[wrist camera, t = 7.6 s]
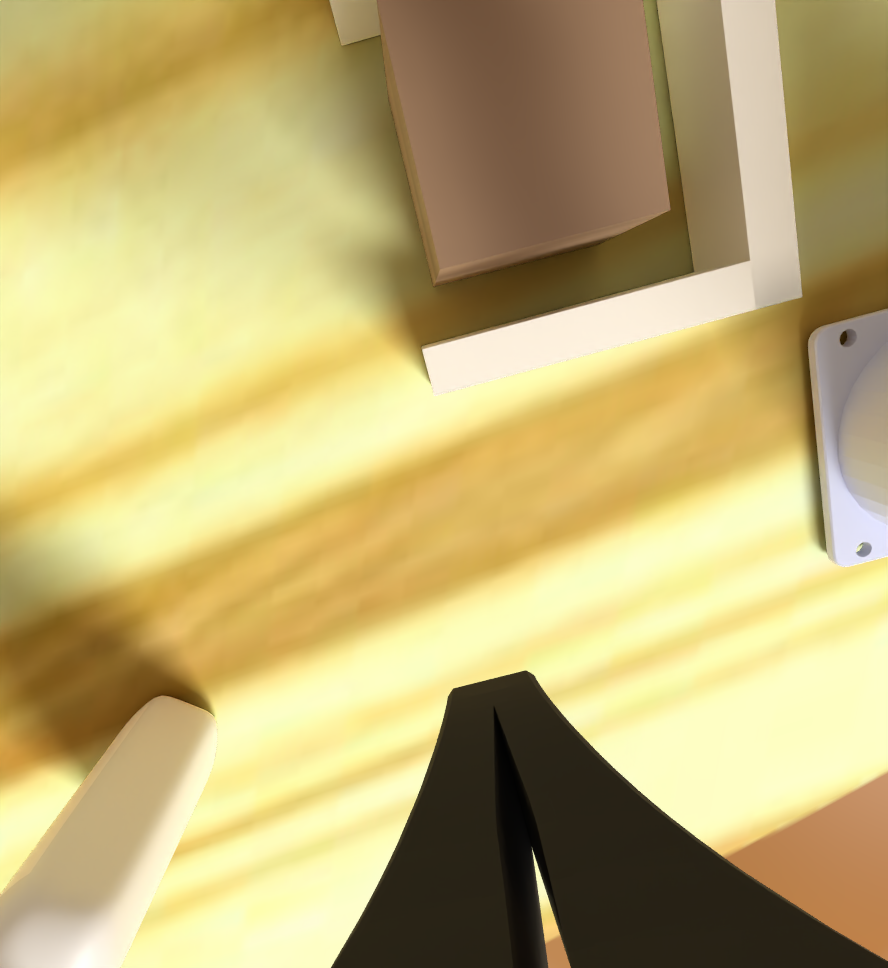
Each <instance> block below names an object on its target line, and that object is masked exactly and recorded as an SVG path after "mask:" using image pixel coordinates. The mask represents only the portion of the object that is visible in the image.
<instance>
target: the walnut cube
mask: <svg viewBox="0 0 888 968" xmlns="http://www.w3.org/2000/svg"><path fill="white" fill-rule="evenodd" d="M377 8H378V16H379V25H380V33H381V41H382V50H383V58H384V67H385V75H386V83H387V92H388V99H389V103H390V108H391V112H392V116H393V120H394V124H395V128H396V133H397V137H398V141H399V145H400V149H401V154H402V158H403V162H404V166H405V170H406V174H407V179H408V183H409V187H410V191H411V195H412V199H413V204H414V208H415V212H416V216H417V220H418V225H419V229H420V233H421V237H422V241H423V245H424V250H425V254H426V258H427V262H428V266H429V270H430V275H431V279H432V283H433V287H435V286H439V285H443V284H447V283H451V282H454V281H458V280H462V279H466V278H470V277H474V276H478V275H482V274H485V273H489V272H493V271H497V270H501V269H505V268H509V267H513V266H516V265H520V264H524V263H528V262H532V261H536V260H540V259H544V258H547V257H551V256H555V255H559V254H563V253H567V252H571V251H575V250H578V249H582V248H586V247H590V246H594V245H598V244H601V243H603V242H605V241H607V240H609V239H611V238H613V237H615V236H617V235H619V234H621V233H624V232H626V231H628V230H630V229H632V228H634V227H636V226H638V225H640V224H642V223H644V222H646V221H649V220H651V219H653V218H655V217H657V216H659V215H661V214H663V213H665V212H667V211H669V210H671V209H670V202H669V194H668V187H667V179H666V172H665V164H664V157H663V149H662V141H661V134H660V126H659V119H658V111H657V104H656V96H655V89H654V81H653V74H652V66H651V59H650V51H649V43H648V36H647V28H646V21H645V13H644V6H643V0H377Z"/></svg>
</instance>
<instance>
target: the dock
mask: <svg viewBox="0 0 888 968" xmlns="http://www.w3.org/2000/svg"><path fill="white" fill-rule="evenodd" d="M329 1H330V4H331V8H332V12H333V16H334V20H335V23H336V27H337V31H338V35H339V38H340V42H341V46H343V45H346V44H350V43H353V42H357V41H361V40H364V39H368V38H371V37H375V36H378V35H381V33H380V25H379V16H378V8H377V0H329ZM657 8H658V15H659V22H660V29H661V37H662V44H663V51H664V58H665V65H666V73H667V80H668V87H669V94H670V102H671V109H672V116H673V123H674V130H675V138H676V145H677V152H678V159H679V166H680V174H681V181H682V188H683V195H684V203H685V210H686V217H687V224H688V231H689V239H690V246H691V253H692V260H693V267H694V273H690V274H686V275H683V276H679V277H675V278H672V279H668V280H664V281H661V282H657V283H653V284H650V285H646V286H642V287H638V288H635V289H631V290H627V291H624V292H620V293H616V294H613V295H609V296H605V297H602V298H598V299H594V300H590V301H587V302H583V303H579V304H576V305H572V306H568V307H565V308H561V309H557V310H554V311H550V312H546V313H542V314H539V315H535V316H531V317H528V318H524V319H520V320H517V321H513V322H509V323H506V324H502V325H498V326H494V327H491V328H487V329H483V330H480V331H476V332H472V333H469V334H465V335H461V336H458V337H454V338H450V339H446V340H443V341H439V342H435V343H432V344H428V345H424V346H421V348H422V352H423V355H424V359H425V363H426V367H427V370H428V374H429V378H430V382H431V386H432V389H433V392H434V396H436V395H440V394H444V393H448V392H451V391H455V390H459V389H462V388H466V387H470V386H474V385H477V384H481V383H485V382H488V381H492V380H496V379H500V378H503V377H507V376H511V375H514V374H518V373H522V372H526V371H529V370H533V369H537V368H541V367H544V366H548V365H552V364H555V363H559V362H563V361H567V360H570V359H574V358H578V357H581V356H585V355H589V354H593V353H596V352H600V351H604V350H607V349H611V348H615V347H619V346H622V345H626V344H630V343H633V342H637V341H641V340H645V339H648V338H652V337H656V336H660V335H663V334H667V333H671V332H674V331H678V330H682V329H686V328H689V327H693V326H697V325H700V324H704V323H708V322H712V321H715V320H719V319H723V318H726V317H730V316H734V315H738V314H741V313H745V312H749V311H752V310H756V309H760V308H764V307H767V306H771V305H775V304H779V303H782V302H786V301H790V300H793V299H797V298H801V297H802V286H801V276H800V265H799V254H798V243H797V232H796V222H795V211H794V200H793V189H792V178H791V168H790V157H789V146H788V135H787V125H786V114H785V103H784V92H783V81H782V71H781V60H780V49H779V38H778V28H777V17H776V6H775V0H657Z"/></svg>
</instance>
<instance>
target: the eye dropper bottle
mask: <svg viewBox="0 0 888 968" xmlns="http://www.w3.org/2000/svg"><path fill="white" fill-rule="evenodd" d="M216 748H217V722H216V720H215V718H214V716H213V715H212V714H211V713H209V712H208V711H206V710H204V709H202V708H199V707H197V706H194V705H192V704H189V703H186V702H184V701H181V700H179V699H176V698H173V697H170V696H159V697H156V698H153V699H152V700H151V701H149V702H148V703H146V704H145V705H144V706H143V707H142V708H141V709H140V710H139V711H138V712H137V713H136V714H135V715H134V716H133V717H132V718H131V719H130V720H129V721H128V722H127V723H126V725H125V726H124V727H123V729H122V730H121V731H120V733H119V734H118V735H117V737H116V738H115V739H114V741H113V742H112V743H111V745H110V746H109V747H108V749H107V750H106V751H105V753H104V754H103V755H102V757H101V758H100V760H99V761H98V762H97V764H96V765H95V766H94V768H93V769H92V770H91V772H90V773H89V774H88V776H87V777H86V778H85V780H84V781H83V783H82V784H81V785H80V787H79V788H78V789H77V791H76V792H75V793H74V795H73V796H72V797H71V799H70V800H69V801H68V803H67V804H66V806H65V807H64V808H63V810H62V811H61V812H60V814H59V815H58V816H57V818H56V819H55V820H54V822H53V823H52V825H51V826H50V827H49V829H48V830H47V831H46V833H45V834H44V835H43V837H42V838H41V839H40V841H39V842H38V843H37V845H36V846H35V848H34V849H33V850H32V852H31V853H30V854H29V856H28V857H27V858H26V860H25V861H24V862H23V864H22V865H21V867H20V868H19V869H18V871H17V872H16V873H15V875H14V876H13V877H12V879H11V880H10V882H9V883H8V884H7V886H6V887H5V888H4V890H3V891H2V892H1V894H0V968H121V965H122V963H123V961H124V959H125V957H126V955H127V953H128V950H129V948H130V946H131V944H132V942H133V940H134V938H135V935H136V933H137V931H138V929H139V927H140V925H141V923H142V920H143V918H144V916H145V914H146V912H147V910H148V908H149V905H150V903H151V901H152V899H153V897H154V895H155V892H156V890H157V888H158V886H159V884H160V882H161V880H162V877H163V875H164V873H165V871H166V869H167V867H168V865H169V862H170V860H171V858H172V856H173V854H174V852H175V849H176V847H177V845H178V843H179V841H180V839H181V837H182V834H183V832H184V830H185V828H186V826H187V824H188V821H189V819H190V817H191V815H192V813H193V811H194V809H195V806H196V804H197V802H198V800H199V798H200V796H201V793H202V791H203V789H204V787H205V785H206V782H207V780H208V778H209V775H210V773H211V770H212V767H213V763H214V759H215V755H216Z"/></svg>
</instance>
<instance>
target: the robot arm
mask: <svg viewBox="0 0 888 968" xmlns="http://www.w3.org/2000/svg"><path fill="white" fill-rule="evenodd" d="M843 331H846V333H847V341H846V342H845V343H844V345H841V343H840V341H839V340H840V335H841V334H842V332H843ZM808 353H809V364H810V375H811V386H812V397H813V408H814V418H815V429H816V440H817V451H818V462H819V472H820V483H821V494H822V505H823V516H824V527H825V537H826V548H827V555H828V558H829V559H830V560H831V561H832V562H833V563H835V564H837V565H839V566H842V567H849V566H853V565H857V564H861V563H865V562H868V561H872V560H876V559H880V558H884V557H888V308H887V309H883V310H880V311H876V312H872V313H869V314H865V315H861V316H857V317H854V318H850V319H846V320H842V321H839V322H835V323H831V324H827V325H824V326H821V327H819V328H817V329H816V330H815V331H814V332H813V333H812V334H811V336H810V338H809V340H808ZM861 543H863V546H862V548H861V549H860V551H858V552H856V549H857V547H858V545H859V544H861ZM532 849H533V852H534V855H535V858H536V861H537V864H538V867H539V870H540V873H541V877H542V880H543V883H544V886H545V889H546V892H547V895H548V898H549V901H550V904H551V907H552V911H553V914H554V917H555V920H556V923H557V926H558V929H559V932H560V935H561V938H562V941H563V944H564V948H565V951H566V954H567V956H568V960H569V963H570V966H571V968H888V961H886V960H885V959H883V958H881V957H880V956H878V955H876V954H874V953H873V952H871V951H869V950H867V949H866V948H864V947H862V946H861V945H859V944H857V943H856V942H854V941H852V940H850V939H849V938H847V937H845V936H844V935H842V934H840V933H838V932H837V931H835V930H833V929H832V928H830V927H828V926H827V925H825V924H824V923H822V922H821V921H819V920H818V919H816V918H814V917H813V916H811V915H810V914H808V913H806V912H805V911H804V910H802V909H801V908H799V907H797V906H796V905H794V904H793V903H791V902H790V901H788V900H786V899H785V898H783V897H782V896H780V895H779V894H777V893H776V892H774V891H773V890H771V889H770V888H768V887H766V886H765V885H763V884H762V883H760V882H759V881H757V880H755V879H754V878H753V877H751V876H749V875H748V874H746V873H745V872H743V871H742V870H740V869H739V868H738V867H736V866H735V865H733V864H732V863H730V862H729V861H728V860H726V859H725V858H724V857H722V856H721V855H720V854H718V853H717V852H715V851H714V850H713V849H711V848H710V847H709V846H707V845H706V844H704V843H703V842H702V841H700V840H699V839H698V838H696V837H695V836H694V835H692V834H691V833H690V832H689V831H687V830H686V829H685V828H683V827H682V826H681V825H680V824H678V823H677V822H676V821H674V820H673V819H672V818H671V817H669V816H668V815H667V814H666V813H664V812H663V811H662V810H661V809H660V808H658V807H657V806H656V805H655V804H654V803H652V802H651V801H650V800H649V799H648V798H647V797H645V796H644V795H643V794H642V793H641V792H640V791H638V790H637V789H636V788H635V787H634V786H633V785H632V784H631V783H630V782H629V781H627V780H626V779H625V778H624V777H623V776H622V775H621V774H620V773H619V772H618V771H616V770H615V769H614V768H613V767H612V766H611V765H610V764H609V763H608V762H607V761H606V760H605V759H604V758H603V757H602V756H601V755H600V754H599V753H598V752H597V751H596V750H595V749H594V748H593V747H592V746H591V745H590V744H589V743H588V742H587V741H586V740H585V739H584V738H583V736H582V735H581V734H580V733H579V732H578V731H577V730H576V729H575V728H574V727H573V726H572V725H571V724H570V723H569V721H568V720H567V719H566V718H565V717H564V716H563V714H562V713H561V712H560V711H559V710H558V708H557V707H556V706H555V705H554V704H553V702H552V701H551V700H550V698H549V697H548V696H547V695H546V693H545V692H544V690H543V689H542V688H541V686H540V684H539V683H538V681H537V680H536V678H535V676H534V675H533V674H531V673H530V672H528V671H522V672H518V673H514V674H510V675H506V676H502V677H498V678H494V679H490V680H486V681H482V682H478V683H474V684H470V685H466V686H462V687H458V688H454V689H453V690H452V691H451V693H450V694H449V696H448V700H447V705H446V710H445V714H444V718H443V722H442V726H441V729H440V733H439V736H438V739H437V743H436V746H435V749H434V752H433V755H432V758H431V761H430V763H429V766H428V769H427V772H426V775H425V778H424V781H423V783H422V786H421V789H420V791H419V794H418V797H417V799H416V802H415V804H414V806H413V809H412V811H411V813H410V816H409V818H408V820H407V823H406V825H405V827H404V830H403V832H402V834H401V837H400V839H399V842H398V844H397V846H396V848H395V850H394V852H393V855H392V857H391V859H390V861H389V863H388V865H387V867H386V869H385V871H384V873H383V875H382V877H381V879H380V881H379V883H378V885H377V887H376V889H375V891H374V893H373V895H372V896H371V898H370V900H369V902H368V904H367V906H366V908H365V910H364V912H363V913H362V915H361V917H360V919H359V921H358V922H357V924H356V926H355V928H354V929H353V931H352V933H351V934H350V936H349V938H348V940H347V941H346V943H345V945H344V946H343V948H342V950H341V951H340V953H339V955H338V957H337V958H336V960H335V962H334V963H333V965H332V967H331V968H548V962H547V955H546V947H545V940H544V933H543V925H542V918H541V910H540V903H539V896H538V889H537V881H536V874H535V867H534V860H533V852H532Z"/></svg>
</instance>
